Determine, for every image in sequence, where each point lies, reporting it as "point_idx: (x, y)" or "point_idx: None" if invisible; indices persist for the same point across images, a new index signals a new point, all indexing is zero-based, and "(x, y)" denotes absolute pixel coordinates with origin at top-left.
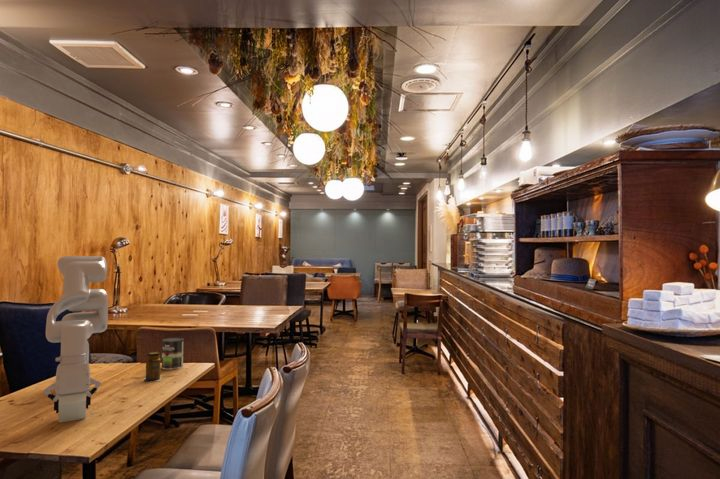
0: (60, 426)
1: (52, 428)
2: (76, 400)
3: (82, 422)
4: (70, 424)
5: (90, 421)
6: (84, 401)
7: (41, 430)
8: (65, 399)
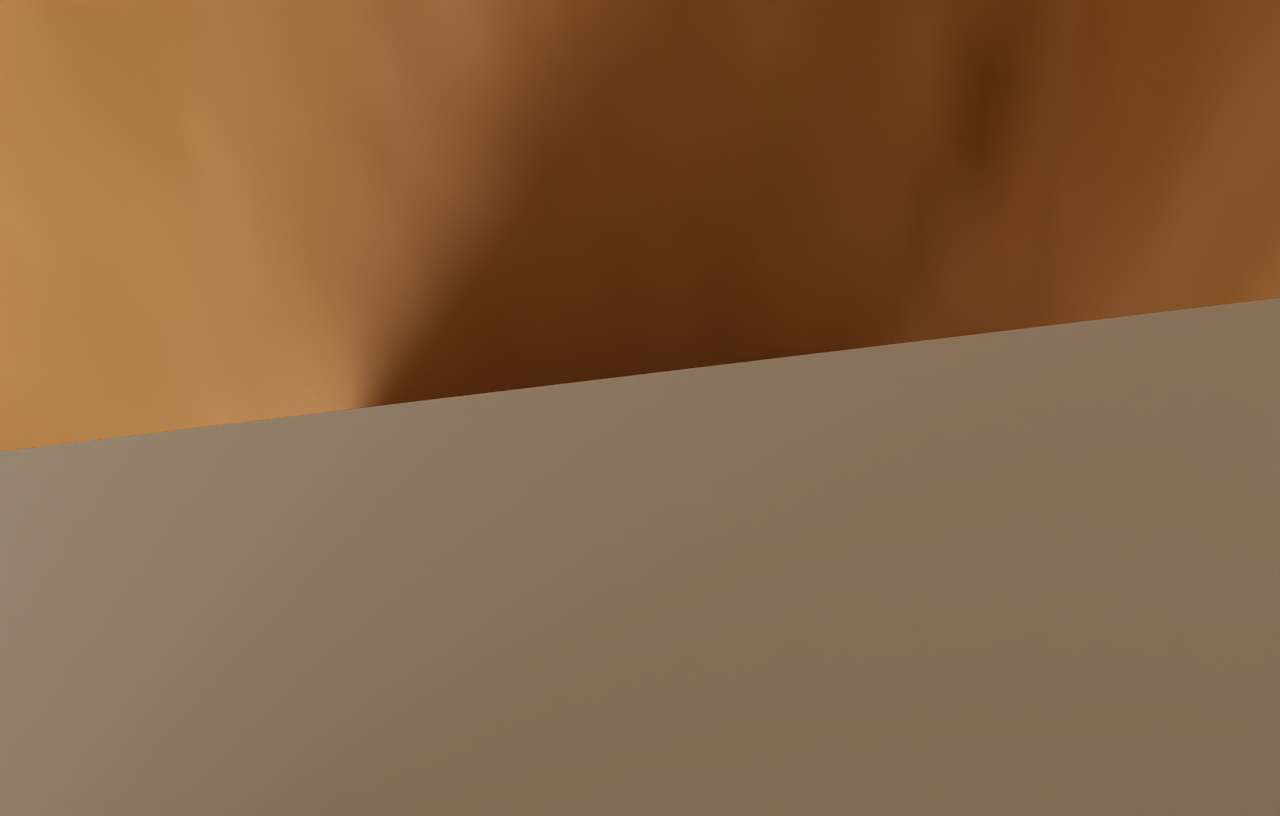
0: (832, 113)
1: (998, 44)
2: (501, 526)
3: (348, 184)
4: (621, 159)
5: (143, 173)
6: (23, 457)
7: (1214, 13)
8: (1144, 664)
